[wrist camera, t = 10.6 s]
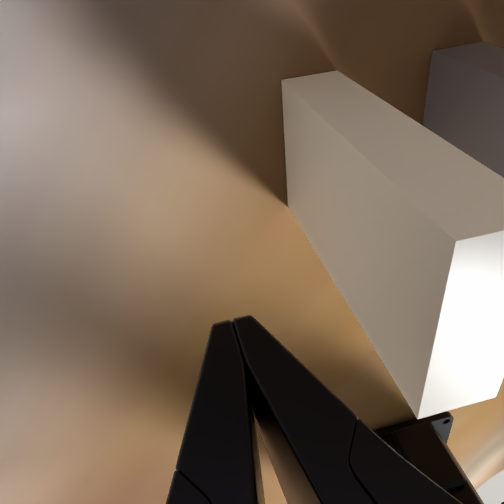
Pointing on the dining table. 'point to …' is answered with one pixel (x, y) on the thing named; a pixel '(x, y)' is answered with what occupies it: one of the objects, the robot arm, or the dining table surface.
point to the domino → (468, 101)
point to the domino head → (401, 237)
